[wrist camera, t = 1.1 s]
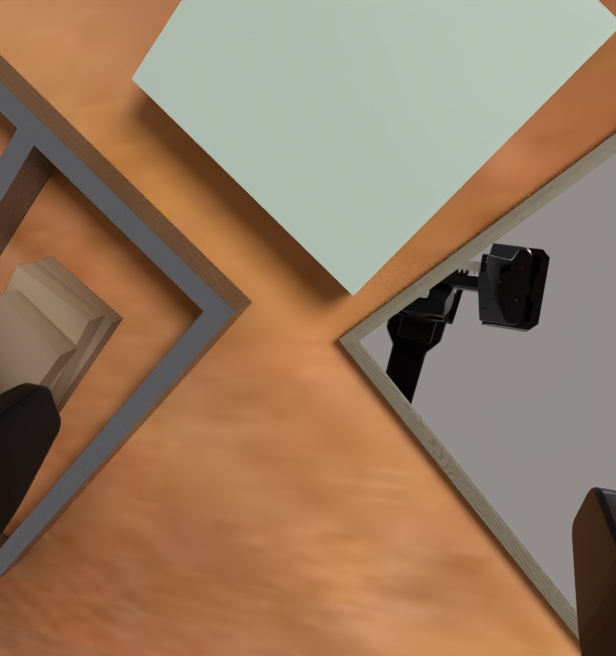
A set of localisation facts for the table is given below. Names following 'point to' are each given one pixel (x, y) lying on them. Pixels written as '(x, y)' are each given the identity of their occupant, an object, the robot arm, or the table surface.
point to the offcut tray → (146, 233)
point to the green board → (362, 103)
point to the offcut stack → (51, 329)
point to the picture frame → (516, 366)
